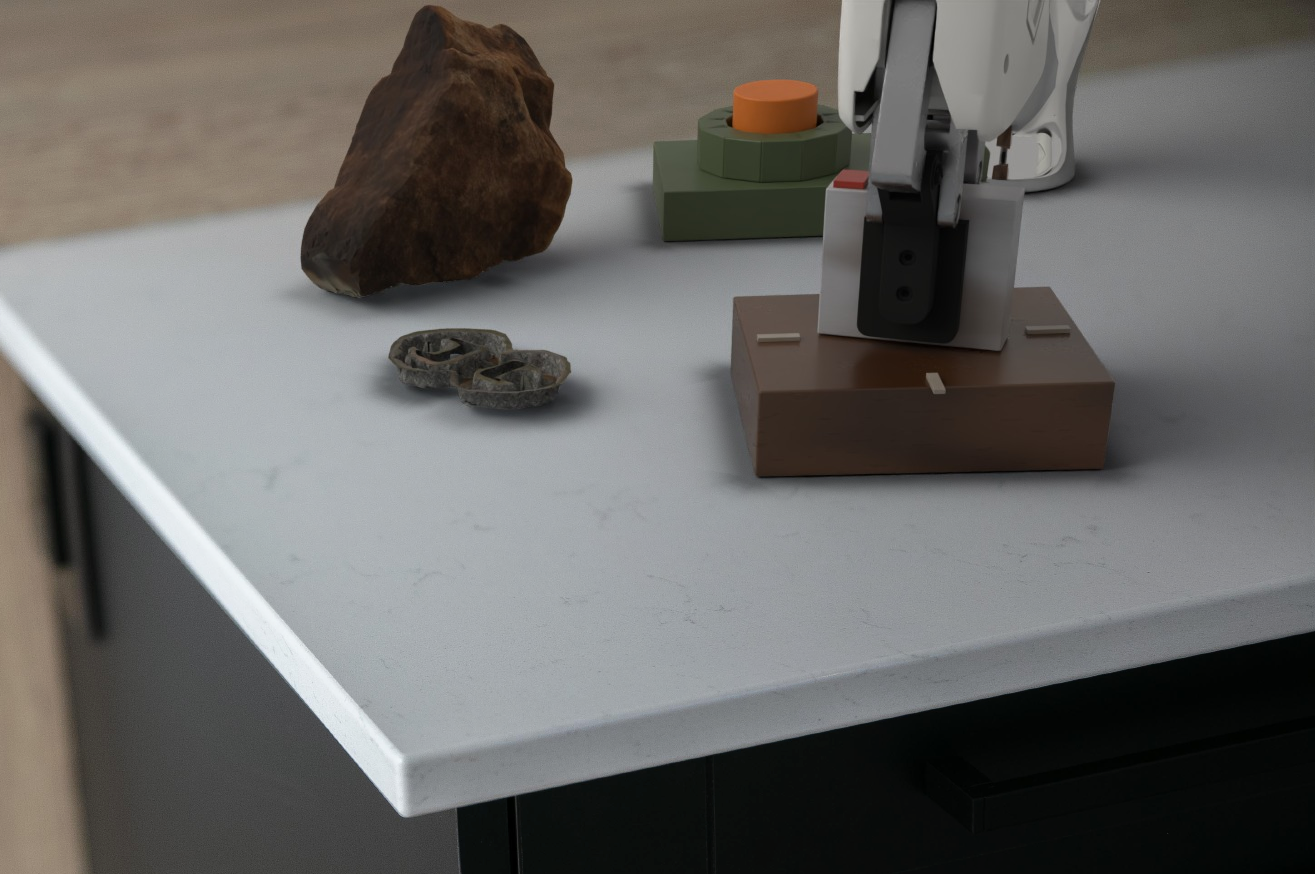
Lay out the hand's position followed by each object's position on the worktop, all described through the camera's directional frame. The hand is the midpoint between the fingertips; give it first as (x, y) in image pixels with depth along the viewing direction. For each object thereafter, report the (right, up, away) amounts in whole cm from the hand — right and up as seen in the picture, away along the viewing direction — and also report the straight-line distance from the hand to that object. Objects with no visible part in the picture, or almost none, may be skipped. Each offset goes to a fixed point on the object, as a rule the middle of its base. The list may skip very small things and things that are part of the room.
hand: (914, 320), depth 66 cm
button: (0, +12, +21) cm, 24 cm away
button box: (0, +9, +23) cm, 24 cm away
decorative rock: (-15, +5, +18) cm, 24 cm away
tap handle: (0, 0, 0) cm, 0 cm away
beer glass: (+12, +11, +25) cm, 30 cm away
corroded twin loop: (-14, -1, +7) cm, 16 cm away
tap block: (0, -3, +2) cm, 4 cm away
